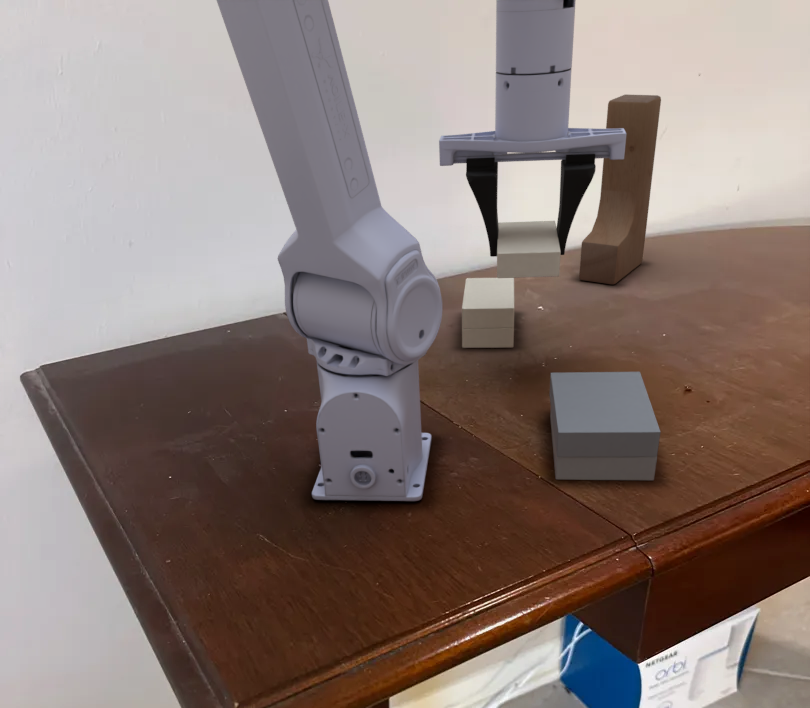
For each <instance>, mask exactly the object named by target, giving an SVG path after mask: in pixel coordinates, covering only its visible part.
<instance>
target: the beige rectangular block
mask: <svg viewBox="0 0 810 708" xmlns="http://www.w3.org/2000/svg"><path fill="white" fill-rule="evenodd" d="M498 227H499V232H498V240H497V256H496V278H514V279H518V278H519V279H521V278H556V277H557V278H558V277H560V273H561V256H562V255H561V251H560V245H559V240H558V235H557V222H556V220H533V221H508V222H507V221H505V222H498Z"/></svg>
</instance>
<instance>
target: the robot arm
mask: <svg viewBox="0 0 810 708" xmlns="http://www.w3.org/2000/svg"><path fill="white" fill-rule="evenodd" d="M495 1H496V2H495V3H496V5H495V8H496V9H495V17H496V18H495V102H494V103H495V106H494V107H495V108H494V109H495V110H494V112H495V114H494V115H495V117H494V120H495V121H494V122H495V123H494V130H489V131H479V132H470V133H462V134H461V133H459V134H446V135H441V136H440V137H439V140H438V148H439V150H438V152H439V166H440V167H445V166H446V167H450V166H454V164H466V167H465V168H466V169H465V170H466V171H465V172H466V173H465V177H466V180H467V183H468V185H469V187H470V191H472V194H473V196H474V198H475V201H476V203H477V206H478V208H479V211H480V214H481V217H482V220H483V223H484V228H485V231H486V234H487V239H488V246H489V256H490V257H493V258H494V257H497V240H498V232H499V227H498V223H499V216H498V215H499V214H498V213H499V212H498V189H499V188H498V187H499V186H498V185H499V184H498V178H499V163H509V162H512V163H513V162H537V161H560V177H559V178H560V181H559V182H560V183H559V184H560V185H559V206H558V215H557V222H556V228H557V235H558V240H559V245H560V251H561V256H565V252H566V246H567V241H568V237H569V235H570V230H571V227H572V225H573V222H574V219H575V216H576V213H577V211H578V209H579V207H580V204H581V202H582V200H583V198H584V196H585V194H586V192H587V190H588V188H589V186H590V184H591V183H592V181H593V179H594V176H595V174H596V166H597V165H596V160H597V159H604V158H609V159H611V160H623V159H624V154H625V144H626V132H625V130H624V128H619V129H606V128H593V127H592V128H589V127H587V128H586V127H584V128H583V127H569V120H570V105H571V104H570V103H571V88H572V87H571V86H572V69H573V51H574V34H575V18H576V0H495ZM216 3H217V6H218V8H219V12H220V15H221V17H222V20H223V23H224V25H225V28H226V31H227V35H228V37H229V41H230V43H231V47H232V49H233V51H234V54H235V57H236V61H237V63H238V66H239V69H240V72H241V75H242V77H243V80H244V83H245V86H246V89H247V92H248V94H249V98H250V101H251V104H252V107H253V109H254V112H255V115H256V118H257V120H258V123H259V126H260V129H261V132H262V135H263V138H264V141H265V144H266V146H267V150H268V152H269V155H270V159H271V161H272V163H273V166H274V169H275V172H276V175H277V178H278V181H279V184H280V186H281V187H280V188H282V192H283V195H284V198H285V202H286V205H287V207H288V210H289V213H290V216H291V218H292V221H293V224H294V227H295V230H294V231H293V233H292V234H290V236H289V237H288V238H287V240H286V241H285V243H284V244H283V246H282V247H281V249H280V252H279V253H278V254H277V261H278V265H279V267H280V270H281V273H282V278H283V283H284V308H285V313H286V317H287V320H288V322H289V324H290V326H291V327H292V329H293V330H294V331H295V332H296V333H297V334H298V335H299V336H301V337H302V338H304V339H306V344H307V352H308V354H309V355H312V356H314V358H315V361H316V370H317V376H318V384H319V385H318V386H319V392H320V401H321V403H320V407H319V409H318V413H317V416H316V421H315V422H316V423H315V424H316V425H315V426H316V428H315V429H316V435H317V436H316V437H317V443H318V452H319V459H320V468H319V471H318V474H317V477H316V480H315V483H314V484H313V488H312V491H311V497H312V499H313V500H316V501H360V502H361V501H362V502H363V501H367V502H368V501H370V502H373V501H374V502H379V501H380V502H418V501H420V500H422V498H423V494H424V488H425V483H426V476H427V471H428V463H429V457H430V453H431V452H430V451H431V446H432V440H433V439H432V438H433V437H432V434H431V433H429V432H422V413H421V412H422V411H421V391H420V390H421V389H420V372H419V371H420V369H419V360H420V359H421V358H422V357H423V358H424V356H426V355H427V353H428V351H429V349H430V348H431V347H432V345H433V343H434V342H435V340H436V338H437V336H438V333H439V330H440V328H441V325H442V319H443V297H442V292H441V288H440V284H439V282H438V280H437V278H436V276H435V274H433V272H432V271H431V270H430V269H429V267H428V266H427V264H426V262H425V260H424V257H423V253H422V249H421V244H420V242H419V240H418V239H417V238H416V237H415V236H414V235H413V234H412V233H410V232H409V231H408V230H407V228H406V227H404V226H403V225H402V224H400V222H399V221H397V220H396V219H395V218H394V217H393V216H392V215H390V213H388V212H387V211H386V210H385V208H383V205H382V203H381V199H380V196H379V191H378V188H377V187H378V186H377V184H376V178H375V176H374V172H373V168H372V164H371V160H370V157H369V152H368V149H367V145H366V141H365V137H364V133H363V130H362V126H361V121H360V118H359V114H358V109H357V105H356V103H355V99H354V94H353V90H352V87H351V84H350V79H349V76H348V72H347V68H346V65H345V61H344V57H343V53H342V48H341V45H340V41H339V38H338V33H337V29H336V26H335V22H334V18H333V13H332V11H331V6H330V3H329V0H216Z"/></svg>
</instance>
